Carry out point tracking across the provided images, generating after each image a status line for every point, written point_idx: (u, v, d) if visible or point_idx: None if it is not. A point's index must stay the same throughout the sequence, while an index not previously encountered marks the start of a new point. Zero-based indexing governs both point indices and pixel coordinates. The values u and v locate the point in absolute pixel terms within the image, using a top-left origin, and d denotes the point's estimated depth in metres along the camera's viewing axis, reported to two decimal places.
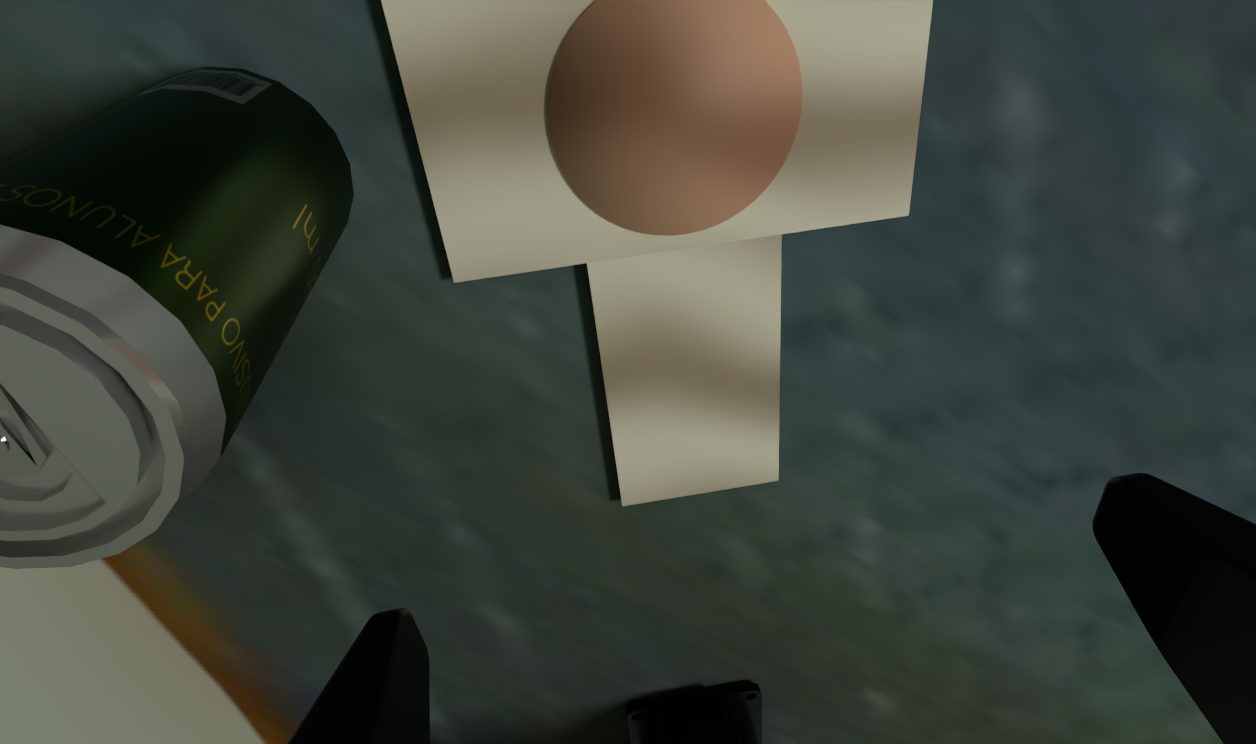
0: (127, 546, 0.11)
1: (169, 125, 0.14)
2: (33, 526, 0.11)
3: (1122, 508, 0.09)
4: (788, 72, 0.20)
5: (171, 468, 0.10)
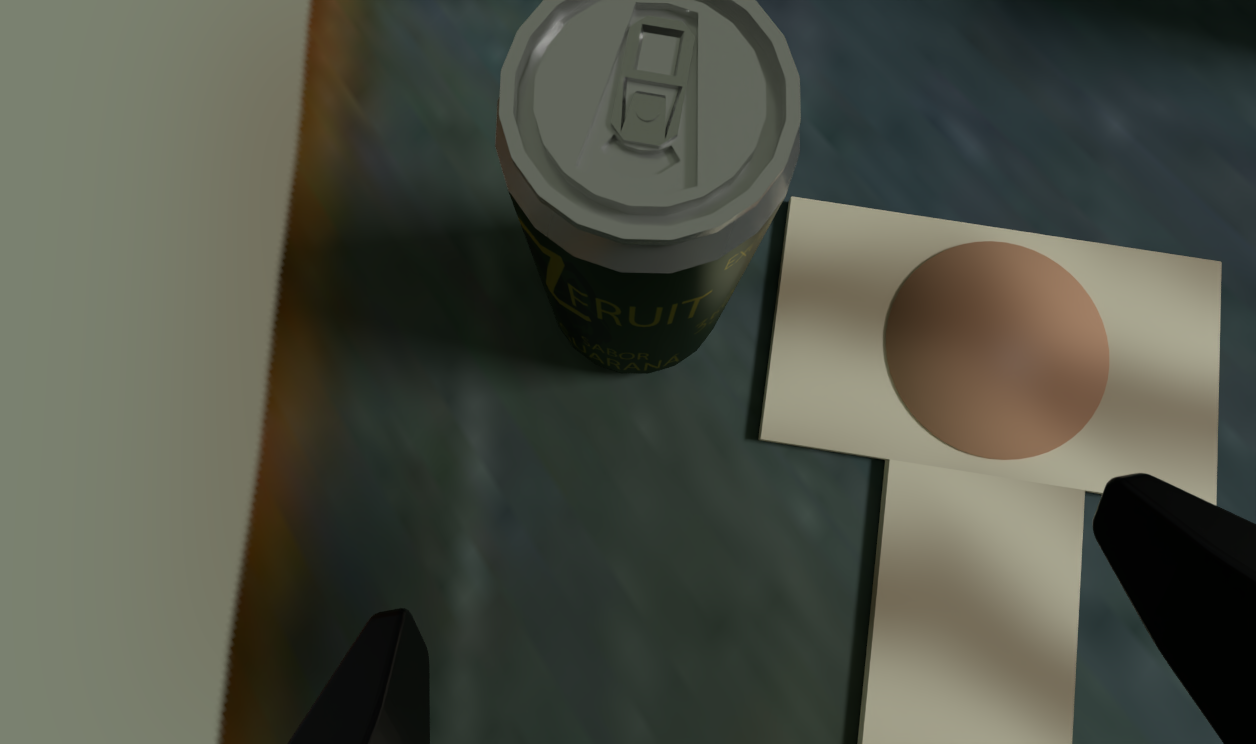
0: (678, 239, 0.11)
1: None
2: (619, 191, 0.12)
3: (1122, 508, 0.09)
4: (1097, 341, 0.23)
5: (769, 170, 0.12)
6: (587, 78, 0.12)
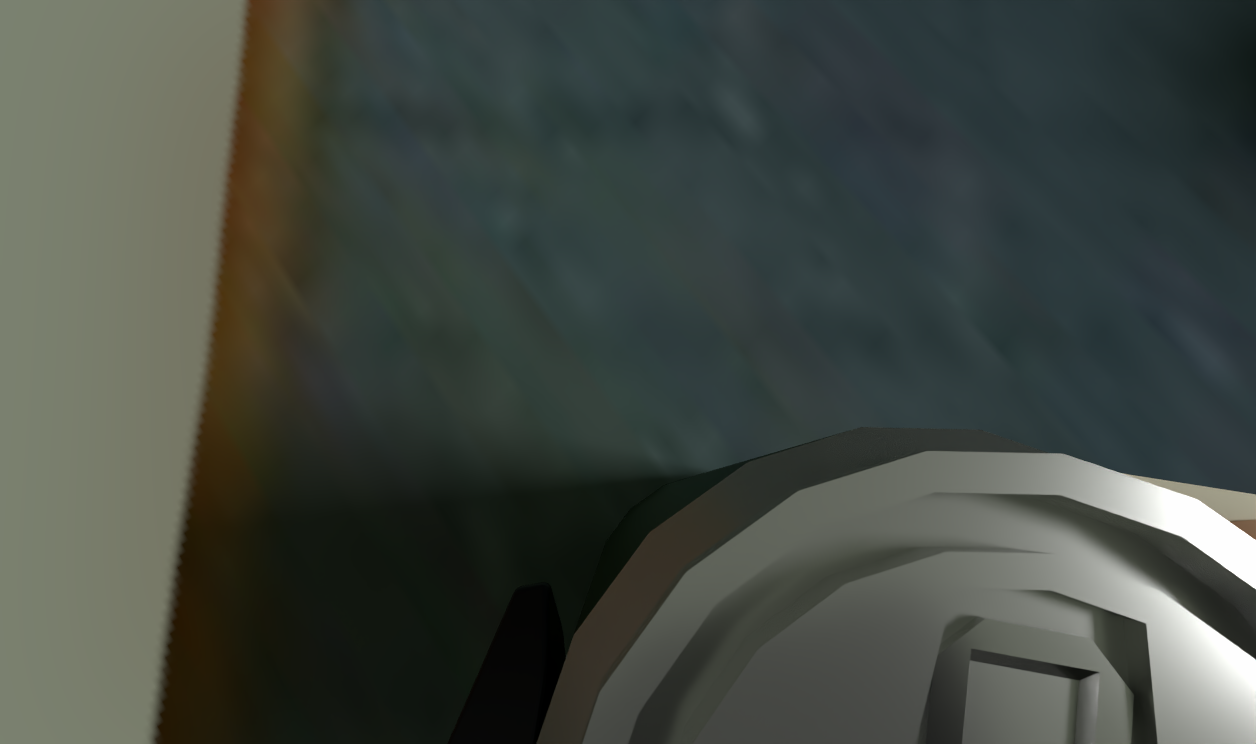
0: None
1: None
2: None
3: None
4: None
5: None
6: None
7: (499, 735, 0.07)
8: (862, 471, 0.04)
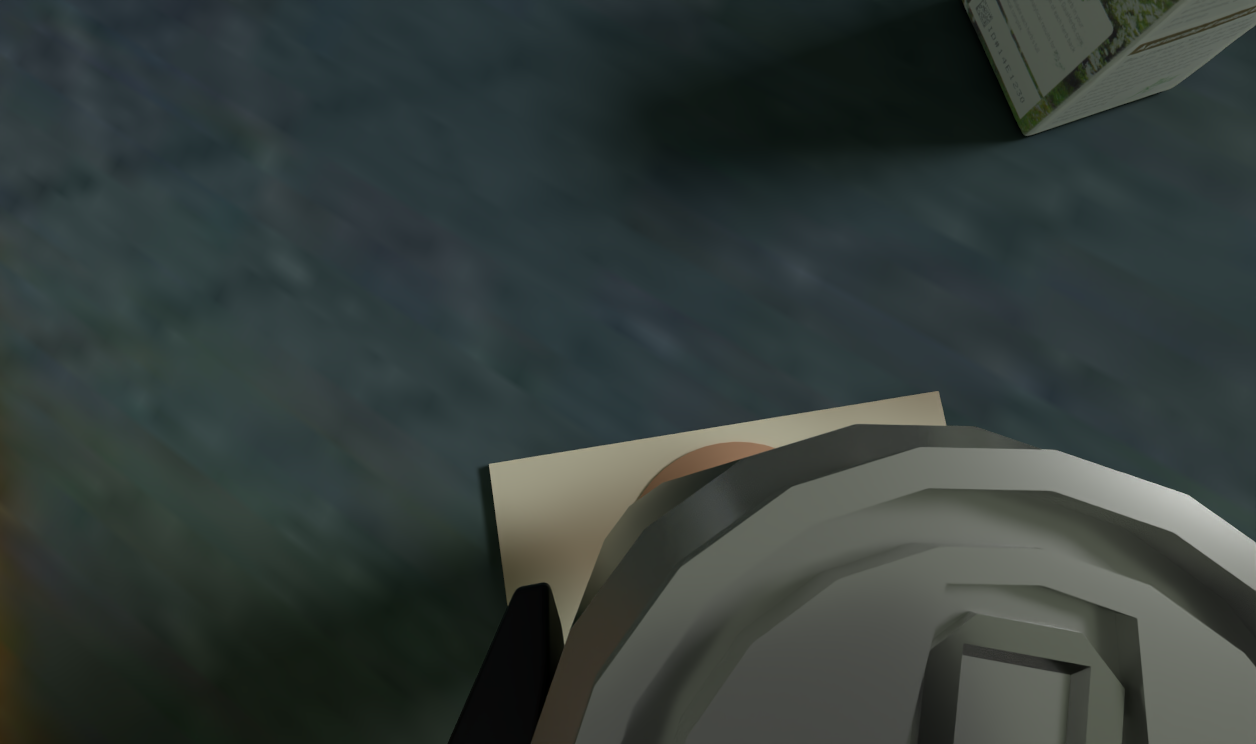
0: None
1: None
2: None
3: None
4: None
5: None
6: None
7: (499, 735, 0.07)
8: (856, 467, 0.04)
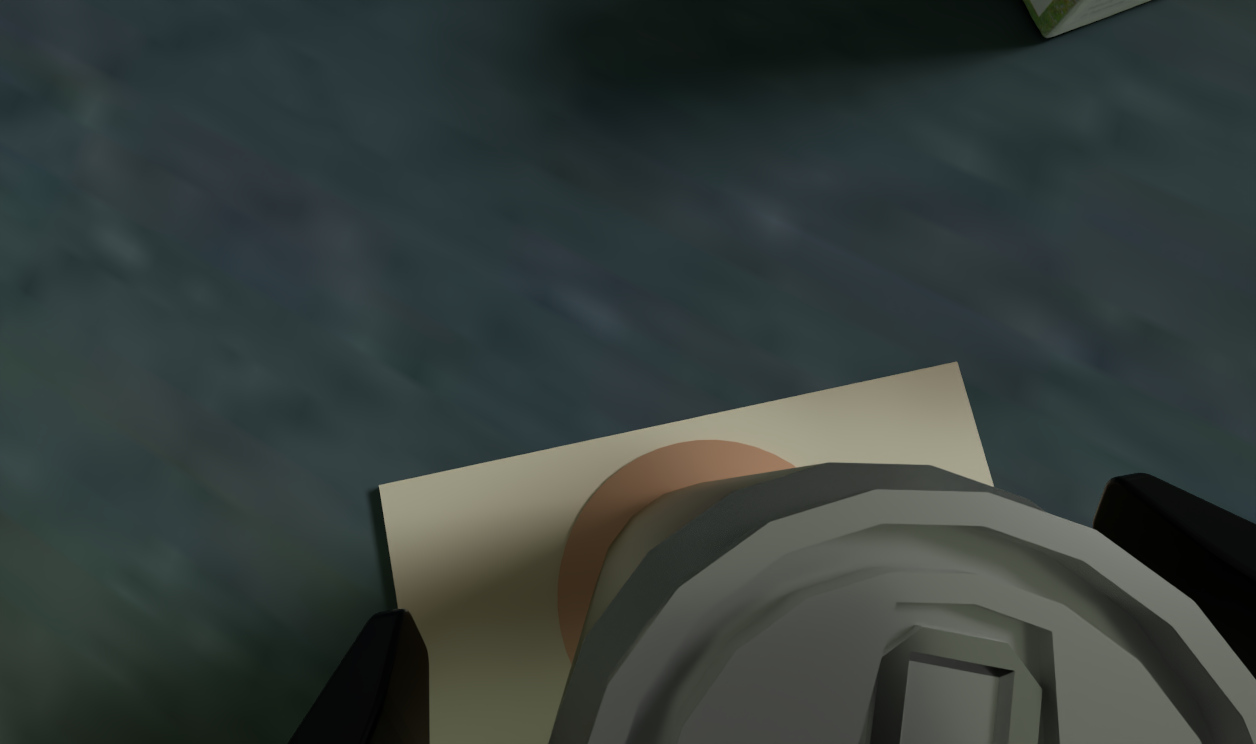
0: None
1: None
2: None
3: (1122, 508, 0.09)
4: None
5: None
6: None
7: None
8: (823, 506, 0.05)
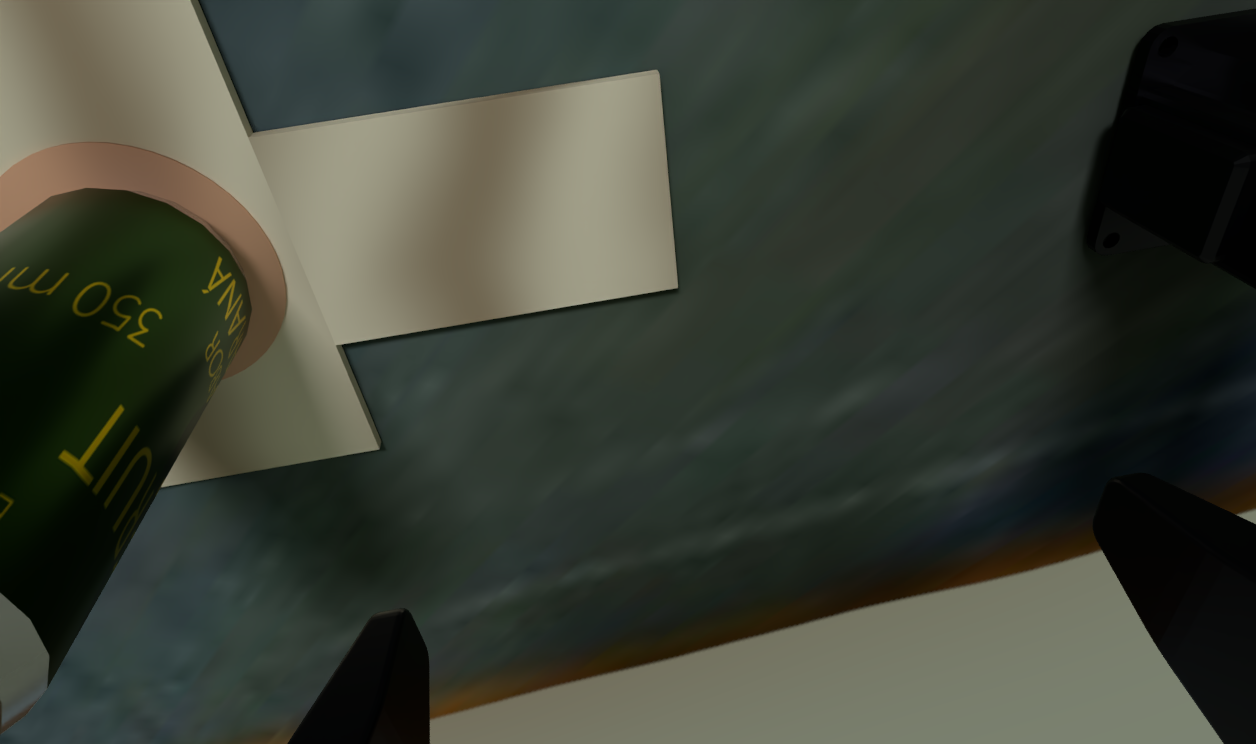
0: None
1: None
2: None
3: (1122, 508, 0.09)
4: (44, 166, 0.17)
5: None
6: None
7: None
8: None
